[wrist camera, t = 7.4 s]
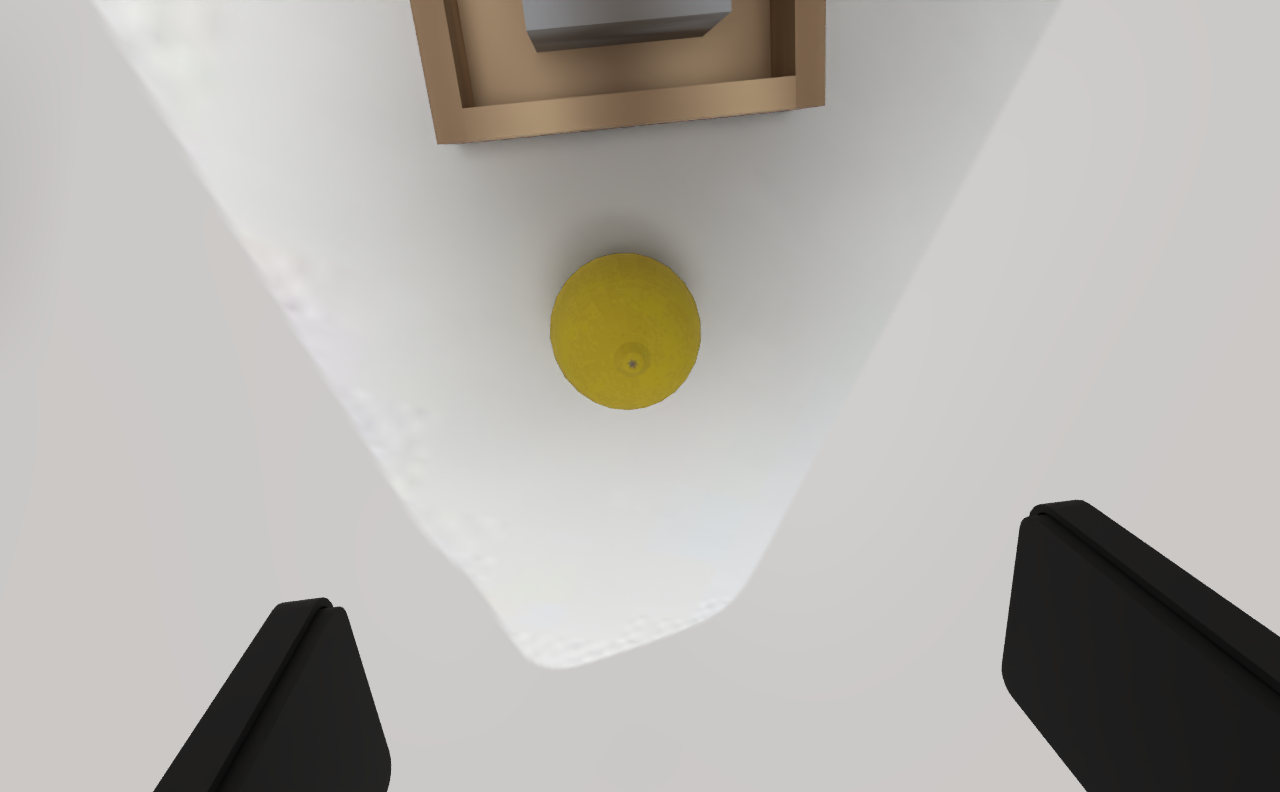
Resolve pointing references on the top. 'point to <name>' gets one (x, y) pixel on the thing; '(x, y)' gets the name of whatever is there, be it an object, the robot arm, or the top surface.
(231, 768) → the robot arm
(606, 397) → the lemon
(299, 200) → the top surface
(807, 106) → the caddy
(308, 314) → the top surface
